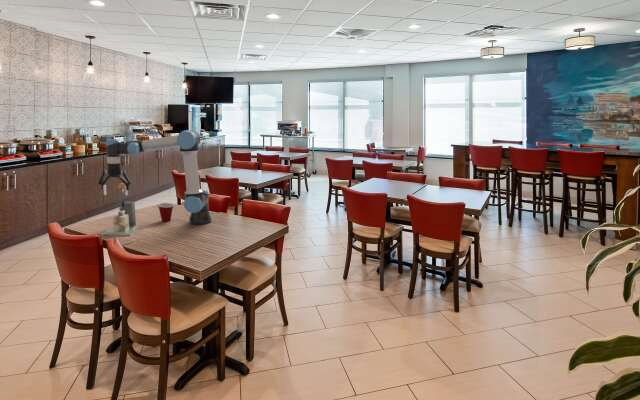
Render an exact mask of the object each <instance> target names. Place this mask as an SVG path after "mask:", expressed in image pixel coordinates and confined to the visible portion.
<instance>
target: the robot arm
mask: <svg viewBox="0 0 640 400" xmlns="http://www.w3.org/2000/svg"><path fill="white" fill-rule="evenodd" d="M201 139H202V138H201V135H200V134H199V132H197V131H196V130H193V129H189V130H188V129H185V130H182V131H181V132H179V134H176V135H171V136H170V135H169V136H165V137H158V138H157V137H156V138H152V139H144V140H139V141H132V142H120V140H119V139H116V138H113V139H112V138H108V139H106V140H105V145H106V146H105V147H106V159H107V160H106V161H107V170H106V169H104V170H102V174H101V176H100V178H99V181H98V183H97V184H98V185H101V190H102V192H103V196H106V195H107V194H108V193H107V182H108V181H109V180H110V178H118V179H120V181H121V183H123V184H124V186H125V187H124V196H128V195H129V190H130V185H132V184H133V183H132V180H131V179H130V178H129V175H128V174H127V171H126V170H121V155H133V156H134V155H138V154H139V153H145V152H150V151H151V152H153V151H156V150H164V149H172V148H177V147H179V151H180V154H182V159H183V167H184V175H185V176H184V177H185V186H186V187H185V188H186V191H184V202H183V207H184V209H185V210H186V211H187V212H189V213H190V216H189V219H188V222H189V223H190V224H192V225H206V223H207V224H210V223H212V216H211V213H210V210H209V196H210V195H209V191H208V190H206V189H201V187H200V186H201V185H200V176H199V175H200V174H199V167H198V166H199V165H198V152H199V150H200V149H199V145H200V143H201V142H202V141H201ZM107 174H108V175H107ZM106 175H107V177H106ZM105 177H106V178H105Z"/></svg>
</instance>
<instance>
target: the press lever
mask: <svg viewBox="0 0 640 400" xmlns="http://www.w3.org/2000/svg"><path fill="white" fill-rule="evenodd" d="M117 187H118V189H119V201H120V207H119V209H118V211H119V212H120V211H122V212H123V211H124V203H125V197H124V196H125V192H124V189H125V184H124V183H123V182H120V183H118V185H117Z"/></svg>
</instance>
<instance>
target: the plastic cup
mask: <svg viewBox="0 0 640 400" xmlns="http://www.w3.org/2000/svg"><path fill="white" fill-rule="evenodd" d="M174 206H175V205H174V204H173V203H168V202H167V203H165V202H164V203H163V202H162V203H158V204H157V207H158V209H159V214H160V218H161V219H160V220H161V221H162V222H165V223H168V222H171V220H172V216H173V215H172V214H173V209H174Z"/></svg>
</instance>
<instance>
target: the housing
mask: <svg viewBox="0 0 640 400" xmlns="http://www.w3.org/2000/svg"><path fill="white" fill-rule="evenodd" d="M112 227H113V230H114V231H126V230H127V229H129V216H128V214H125V213H124V214H123V211H120V210H119V211H118V213H117V214H115V215H113V216H112Z"/></svg>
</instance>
